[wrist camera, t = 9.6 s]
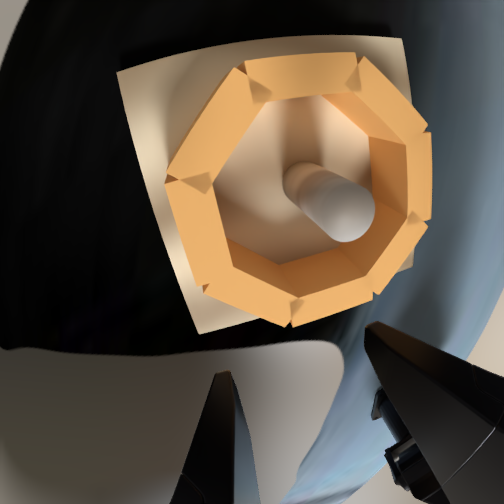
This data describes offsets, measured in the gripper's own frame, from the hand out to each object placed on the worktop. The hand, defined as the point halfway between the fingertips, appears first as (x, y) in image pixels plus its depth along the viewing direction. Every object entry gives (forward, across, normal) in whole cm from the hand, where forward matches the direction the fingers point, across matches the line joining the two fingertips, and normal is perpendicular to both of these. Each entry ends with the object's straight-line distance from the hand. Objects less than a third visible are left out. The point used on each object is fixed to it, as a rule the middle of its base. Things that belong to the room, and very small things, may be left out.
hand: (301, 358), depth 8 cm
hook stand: (+11, -4, -2) cm, 12 cm away
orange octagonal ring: (+10, -4, -2) cm, 10 cm away
